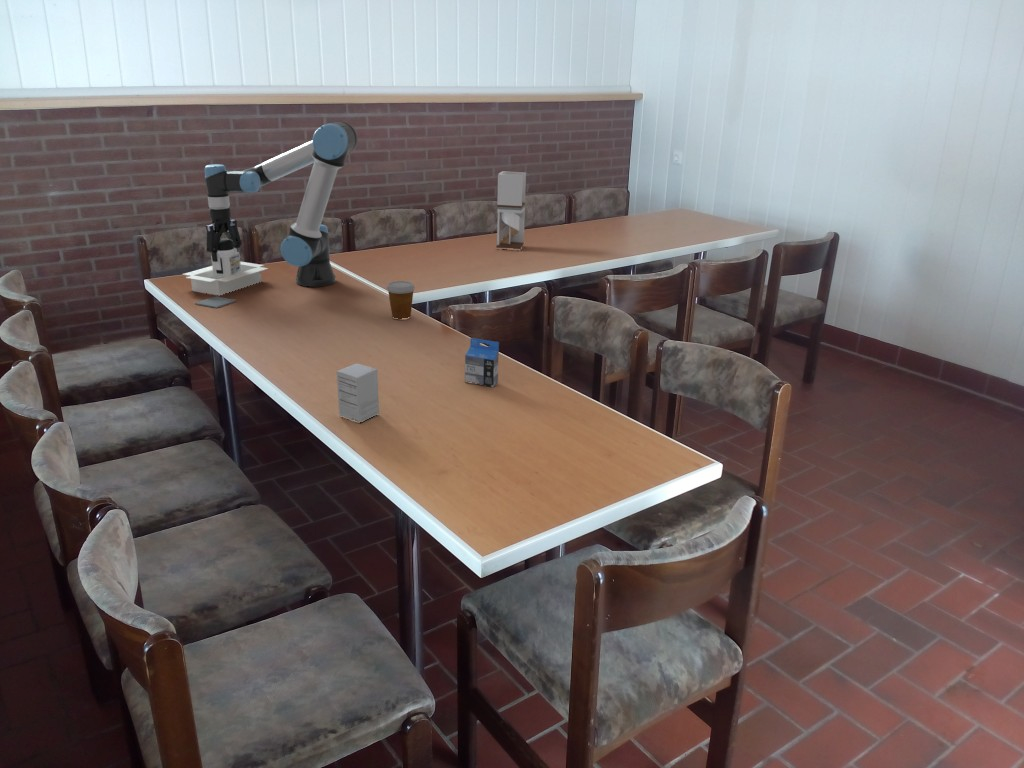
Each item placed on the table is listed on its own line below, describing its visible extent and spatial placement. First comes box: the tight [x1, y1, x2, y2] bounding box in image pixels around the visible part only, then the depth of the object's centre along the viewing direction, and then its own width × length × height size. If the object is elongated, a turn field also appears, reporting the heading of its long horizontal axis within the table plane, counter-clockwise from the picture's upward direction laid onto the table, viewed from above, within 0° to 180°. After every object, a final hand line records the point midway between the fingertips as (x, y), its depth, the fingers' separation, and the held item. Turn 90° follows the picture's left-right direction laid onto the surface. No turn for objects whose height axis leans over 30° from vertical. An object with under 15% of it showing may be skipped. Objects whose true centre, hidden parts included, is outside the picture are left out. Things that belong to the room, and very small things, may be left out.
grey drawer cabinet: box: [336, 363, 380, 422], centre depth 205 cm, size 7×7×13 cm
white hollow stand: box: [496, 170, 527, 250], centre depth 386 cm, size 11×11×35 cm
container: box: [210, 238, 241, 276], centre depth 312 cm, size 8×8×13 cm
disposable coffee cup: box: [386, 280, 415, 319], centre depth 283 cm, size 10×10×12 cm
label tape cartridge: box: [464, 337, 500, 388], centre depth 229 cm, size 9×4×12 cm, turn 69°
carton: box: [182, 261, 269, 297], centre depth 315 cm, size 21×29×6 cm
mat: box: [194, 295, 237, 309], centre depth 296 cm, size 10×10×1 cm
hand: (226, 267), depth 313 cm, fingers closed on container, 9 cm apart
